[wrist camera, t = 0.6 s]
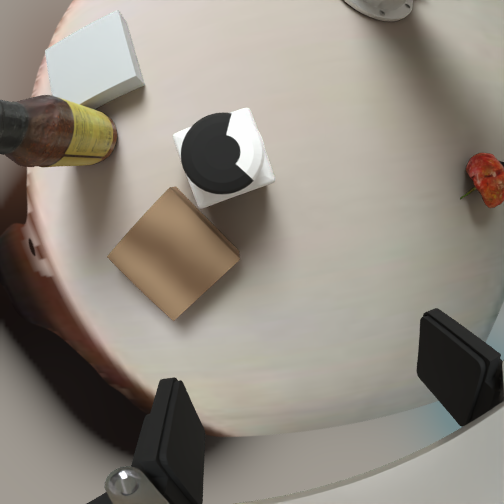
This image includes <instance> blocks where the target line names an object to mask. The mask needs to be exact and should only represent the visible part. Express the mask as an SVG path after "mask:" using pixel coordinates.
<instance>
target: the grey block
mask: <svg viewBox="0 0 504 504" xmlns="http://www.w3.org/2000/svg"><path fill="white" fill-rule="evenodd" d="M45 54H46V61H47V68H48V74H49V80H50V86H51V91H52V96H55V97H59V98H62V99H65V100H68V101H71V102H74V103H77V104H80V105H82V106H85V107H88V108H91V109H96V108H98V107H100V106H102V105H104V104H106V103H108V102H110V101H112V100H114V99H116V98H118V97H120V96H122V95H124V94H126V93H128V92H130V91H133V90H135V89H137V88H139V87H142V86H144V85H145V83H144V80H143V77H142V73H141V70H140V67H139V63H138V60H137V56H136V53H135V50H134V46H133V43H132V39H131V35H130V32H129V28H128V25H127V22H126V20H125V19H124V18H123V16H122V15H121V13H120V12H119V10H117V11H114V12H112V13H110V14H108V15H106V16H104V17H102V18H100V19H98V20H96V21H94V22H92V23H90V24H89V25H87V26H85V27H83V28H81V29H79V30H78V31H76V32H74V33H72V34H71V35H69V36H67V37H66V38H64V39H62V40H61V41H59V42H58V43H56V44H54V45H53V46H51V47H50V48H48V49H47V50H46V51H45Z"/></svg>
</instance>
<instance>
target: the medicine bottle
mask: <svg viewBox="0 0 504 504" xmlns="http://www.w3.org/2000/svg"><path fill="white" fill-rule="evenodd" d="M173 140H174V143H175V146H176V149H177V151H178V154H179V157H180V160H181V163H182V166H183V169H184V171H185V173H186V176H187V179H188V182H189V184H190V187H191V190H192V192H193V195H194V198H195V200H196V203H197V206H198V207H199V208H201V209H202V208H205V207H208V206H211V205H213V204H216V203H219V202H221V201H224V200H227V199H229V198H232V197H235V196H238V195H240V194H243V193H246V192H249V191H252V190H255V189H257V188H260V187H263V186H266V185H269V184H272V183H274V182H275V176H274V173H273V170H272V167H271V165H270V162H269V159H268V156H267V153H266V151H265V148H264V143H263V140H262V137H261V135H260V133H259V131H258V129H257V126H256V123H255V121H254V118H253V115H252V113H251V110H250V109H249V108H243V109H240V110H237V111H234V112H231V113H215V114H211V115H208V116H206V117H204V118H202V119H200V120H199V121H197V122H196V123H195V124H194V125H193V126H192V127H189V128H187V129H184V130H182V131H179V132H177V133H175V134H174V135H173Z"/></svg>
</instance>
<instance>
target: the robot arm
mask: <svg viewBox="0 0 504 504" xmlns="http://www.w3.org/2000/svg"><path fill="white" fill-rule="evenodd" d="M344 1H345V2H346V3H348V4H349V5H350V6H352V7H353V8H354V9H356V10H358V11H359V12H361V13H363V14H365V15H367V16H369V17H372V18H375V19H378V20H383V21H398V20H401V19H403V18H405V17H406V16H407V15H408V14H409V13H410V12H411V10H412V7H413V0H344ZM500 356H501V354H500V353H498V352H497V351H495V350H494V349H493V348H492V347H490V346H489V345H487V344H486V343H485V342H484V341H482V340H481V339H480V338H478V337H477V336H476V335H474V334H473V333H472V332H470V331H469V330H467V329H466V328H465V327H463V326H462V325H461V324H459V323H458V322H456V321H455V320H454V319H452V318H451V317H449V316H448V315H447V314H445V313H444V312H442V311H441V310H439V309H437V308H435V309H433V310H430V311H428V312H425V313H424V315H423V317H422V318H421V320H420V337H419V351H418V362H417V375H418V377H419V378H420V380H421V381H422V382H423V383H424V384H425V385H426V386H427V388H428V389H429V390H430V391H431V392H432V393H433V394H434V396H435V397H436V398H437V399H438V400H439V401H440V403H441V404H442V405H443V406H444V407H445V408H446V410H447V411H448V412H449V413H450V414H451V415H452V417H453V418H454V419H455V420H456V422H457V423H458V424H459V425H460V426H464V427H462V428H460V429H458V430H457V431H455V432H453V433H451V434H450V435H448V436H446V437H444V438H442V439H441V440H439V441H437V442H435V443H433V444H431V445H429V446H427V447H425V448H423V449H421V450H419V451H416V452H414V453H412V454H410V455H408V456H405V457H403V458H401V459H399V460H396V461H394V462H392V463H389V464H387V465H384V466H382V467H379V468H376V469H374V470H371V471H369V472H366V473H363V474H360V475H357V476H354V477H351V478H348V479H345V480H342V481H339V482H336V483H332V484H328V485H325V486H321V487H318V488H314V489H310V490H307V491H302V492H298V493H293V494H289V495H284V496H279V497H273V498H268V499H262V500H256V501H250V502H243V503H235V504H504V360H503V361H502V360H501V359H500ZM204 452H205V431H204V428H203V426H202V423H201V421H200V419H199V417H198V415H197V413H196V411H195V408H194V406H193V404H192V402H191V400H190V397H189V395H188V393H187V391H186V388H185V386H184V384H183V382H182V381H178V380H177V379H176V378H167V379H161V380H160V382H159V385H158V389H157V392H156V395H155V399H154V402H153V406H152V410H151V413H150V414H147V415H146V417H145V419H144V422H143V426H142V429H141V433H140V436H139V440H138V444H137V447H136V451H135V454H134V458H133V462H132V465H131V467H130V466H126V467H120V468H118V469H116V470H114V471H113V472H111V473H110V474H109V476H108V477H107V479H106V481H105V490H106V493H104V494H102V495H101V496H99V497H97V498H96V499H94V500H92V501H91V502H89V503H87V504H202V501H203V499H202V498H203V475H204V473H203V472H204Z"/></svg>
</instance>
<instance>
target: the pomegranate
mask: <svg viewBox="0 0 504 504" xmlns="http://www.w3.org/2000/svg"><path fill="white" fill-rule="evenodd" d="M466 172H467V173H468V175H469V176H470V178H471V179H472V180H473V181H474V186H475V187H474V188H472V189H471V190H470V191H469V192H468V193H466V194H465V195H464V196H462V197H461V198H460V199H462V198H463V197H465V196H467V195H468V194H470V193H471V192H472V191H474V190H476V189H477V190H478V191H479V193H480V194H481V195H482V198H483V201H484V203H485V204H486V206H488V207H489V208H494V207H496V206H497V205H499V204H501V203H502V202H503V201H504V162H501V161H498V160H497V159H496V158H495V156H494V155H493V154H489V153H479V154H476V155H475V156H473V157H472V158H471V159H470V160H469V162H468V164H467V167H466Z"/></svg>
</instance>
